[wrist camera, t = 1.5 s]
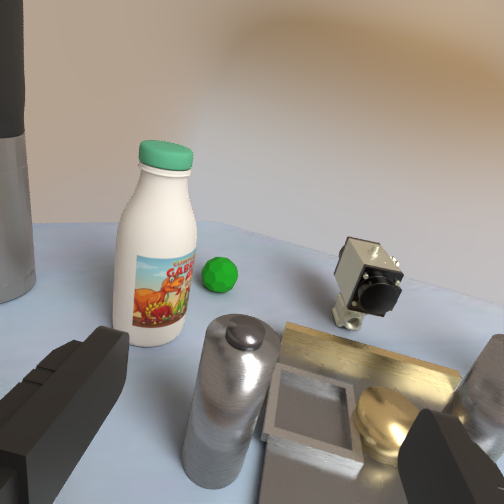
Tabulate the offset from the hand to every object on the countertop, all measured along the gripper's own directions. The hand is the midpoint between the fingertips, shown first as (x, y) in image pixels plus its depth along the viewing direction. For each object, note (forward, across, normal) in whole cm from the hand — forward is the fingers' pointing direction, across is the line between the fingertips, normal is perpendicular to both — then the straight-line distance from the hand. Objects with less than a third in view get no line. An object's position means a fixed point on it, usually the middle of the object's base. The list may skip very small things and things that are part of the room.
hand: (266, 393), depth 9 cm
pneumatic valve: (+34, -13, +17) cm, 40 cm away
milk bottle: (+23, +11, +17) cm, 31 cm away
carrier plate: (+16, -13, +18) cm, 28 cm away
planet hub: (+11, +1, +18) cm, 21 cm away
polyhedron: (+34, +6, +17) cm, 39 cm away
